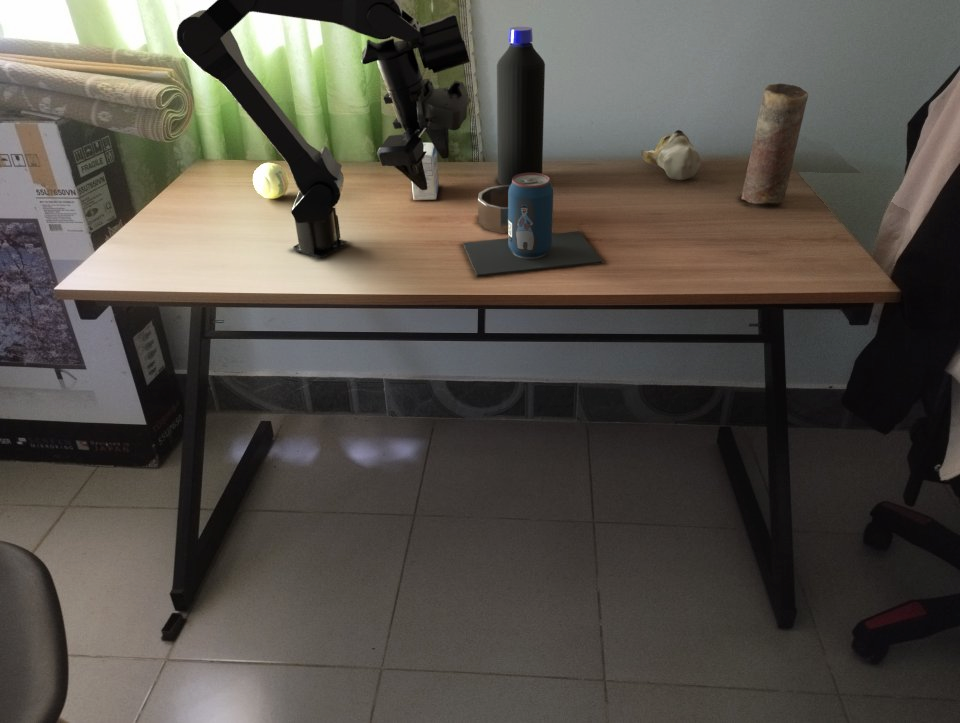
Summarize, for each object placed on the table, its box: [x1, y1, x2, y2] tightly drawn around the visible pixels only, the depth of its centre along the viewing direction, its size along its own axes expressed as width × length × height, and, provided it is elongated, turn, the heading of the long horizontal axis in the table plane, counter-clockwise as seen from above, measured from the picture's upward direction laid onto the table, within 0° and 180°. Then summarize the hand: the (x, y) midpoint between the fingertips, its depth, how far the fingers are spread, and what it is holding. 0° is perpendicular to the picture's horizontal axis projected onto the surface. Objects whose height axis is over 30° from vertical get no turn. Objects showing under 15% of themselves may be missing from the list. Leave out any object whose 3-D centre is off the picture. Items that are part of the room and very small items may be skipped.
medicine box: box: [411, 142, 440, 201], centre depth 140 cm, size 8×4×9 cm, turn 179°
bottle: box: [496, 26, 546, 185], centre depth 140 cm, size 9×9×28 cm
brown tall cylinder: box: [740, 83, 809, 206], centre depth 130 cm, size 8×7×20 cm
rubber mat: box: [462, 230, 603, 278], centre depth 119 cm, size 20×12×1 cm, turn 101°
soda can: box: [507, 173, 555, 259], centre depth 116 cm, size 7×7×12 cm
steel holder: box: [477, 184, 510, 234], centre depth 130 cm, size 11×11×4 cm
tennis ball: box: [252, 162, 290, 199], centre depth 141 cm, size 6×7×7 cm
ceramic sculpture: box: [640, 129, 703, 181], centre depth 148 cm, size 11×9×15 cm
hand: (435, 173), depth 120 cm, fingers open, 9 cm apart
